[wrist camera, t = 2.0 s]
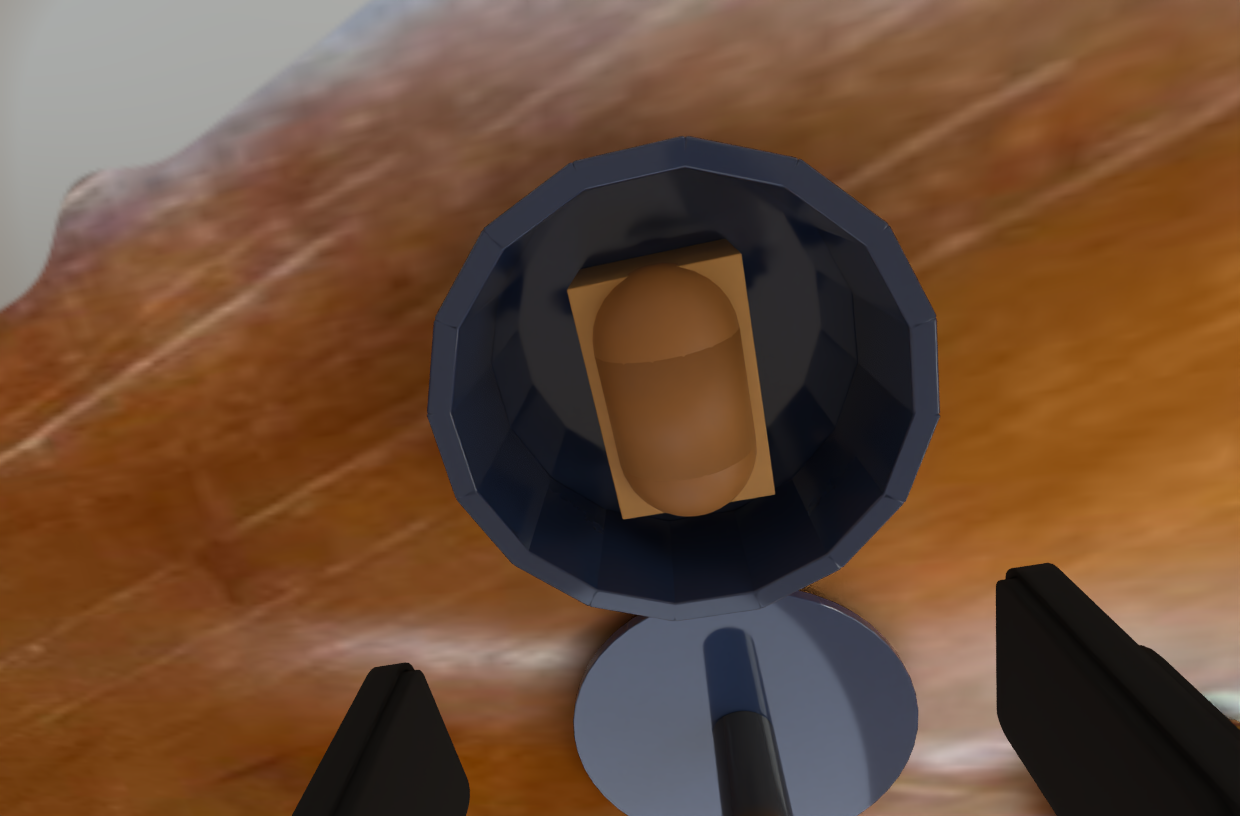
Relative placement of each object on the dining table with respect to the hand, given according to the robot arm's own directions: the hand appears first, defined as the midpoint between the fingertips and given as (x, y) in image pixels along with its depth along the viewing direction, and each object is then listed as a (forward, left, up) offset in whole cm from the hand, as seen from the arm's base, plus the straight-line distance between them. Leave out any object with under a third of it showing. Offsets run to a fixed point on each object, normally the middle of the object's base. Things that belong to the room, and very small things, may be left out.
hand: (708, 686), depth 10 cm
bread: (0, -1, -16) cm, 16 cm away
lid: (0, +18, -16) cm, 24 cm away
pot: (0, -1, -16) cm, 16 cm away
